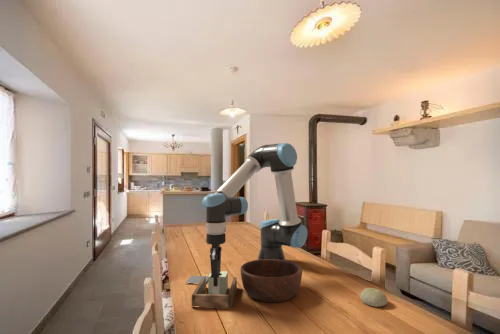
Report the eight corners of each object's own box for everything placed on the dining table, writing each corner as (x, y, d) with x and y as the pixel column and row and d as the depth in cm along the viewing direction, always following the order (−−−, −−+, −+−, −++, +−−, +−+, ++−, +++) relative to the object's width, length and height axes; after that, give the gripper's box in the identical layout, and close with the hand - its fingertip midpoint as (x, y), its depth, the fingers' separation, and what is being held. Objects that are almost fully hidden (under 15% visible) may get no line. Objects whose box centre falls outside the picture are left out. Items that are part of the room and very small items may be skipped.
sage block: (227, 287, 123) (227, 271, 123) (225, 294, 116) (225, 277, 116) (211, 287, 123) (211, 271, 123) (208, 294, 116) (208, 276, 116)
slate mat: (209, 277, 136) (209, 276, 136) (205, 284, 127) (205, 283, 127) (190, 277, 136) (190, 275, 136) (185, 284, 127) (185, 283, 127)
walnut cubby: (236, 287, 123) (236, 277, 123) (231, 308, 103) (231, 295, 103) (203, 287, 123) (203, 276, 123) (191, 307, 104) (191, 295, 104)
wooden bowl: (242, 281, 130) (242, 258, 131) (297, 281, 130) (297, 258, 130) (238, 306, 105) (238, 277, 106) (307, 306, 105) (306, 278, 105)
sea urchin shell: (376, 306, 101) (363, 284, 106) (364, 315, 106) (353, 293, 111) (395, 301, 104) (382, 280, 110) (382, 310, 109) (370, 290, 115)
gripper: (209, 229, 121) (209, 286, 120) (203, 236, 108) (203, 300, 107) (227, 229, 120) (227, 287, 119) (223, 236, 107) (223, 300, 106)
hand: (216, 293), depth 113 cm, fingers closed
